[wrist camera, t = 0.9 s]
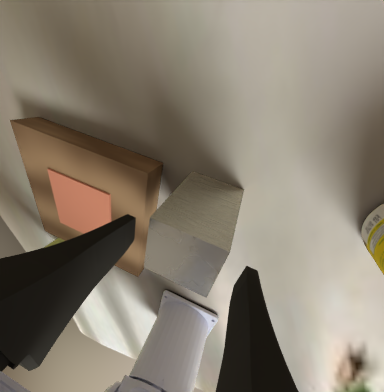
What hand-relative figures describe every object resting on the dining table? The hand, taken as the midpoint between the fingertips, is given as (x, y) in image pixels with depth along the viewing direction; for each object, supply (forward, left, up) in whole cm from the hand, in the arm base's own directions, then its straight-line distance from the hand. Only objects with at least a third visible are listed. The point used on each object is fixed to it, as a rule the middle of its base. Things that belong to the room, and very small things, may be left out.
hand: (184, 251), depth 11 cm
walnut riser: (-5, +12, -6) cm, 14 cm away
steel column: (0, 0, -6) cm, 6 cm away
